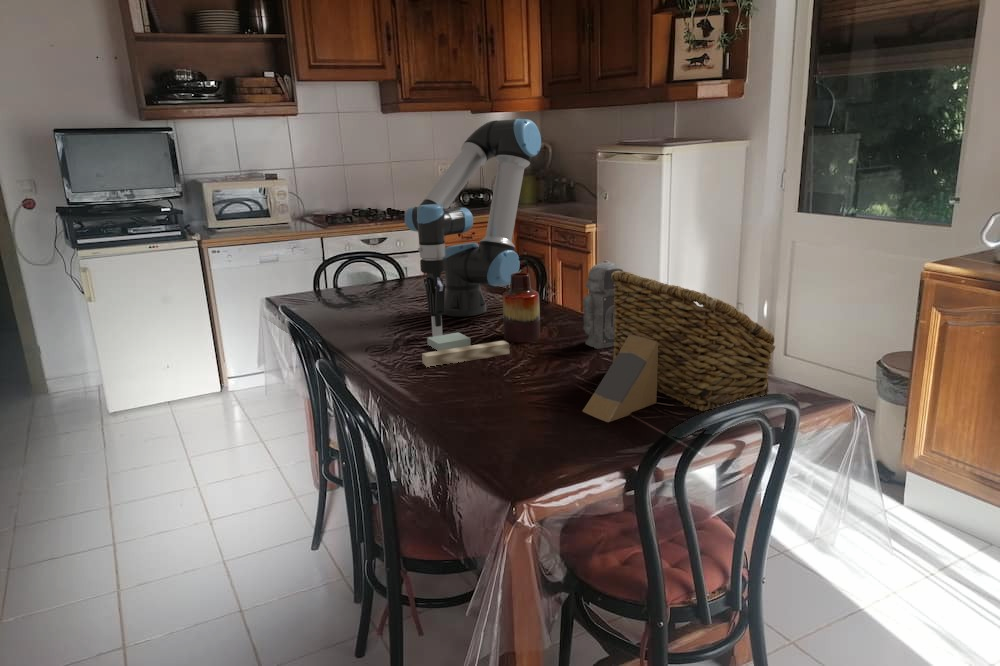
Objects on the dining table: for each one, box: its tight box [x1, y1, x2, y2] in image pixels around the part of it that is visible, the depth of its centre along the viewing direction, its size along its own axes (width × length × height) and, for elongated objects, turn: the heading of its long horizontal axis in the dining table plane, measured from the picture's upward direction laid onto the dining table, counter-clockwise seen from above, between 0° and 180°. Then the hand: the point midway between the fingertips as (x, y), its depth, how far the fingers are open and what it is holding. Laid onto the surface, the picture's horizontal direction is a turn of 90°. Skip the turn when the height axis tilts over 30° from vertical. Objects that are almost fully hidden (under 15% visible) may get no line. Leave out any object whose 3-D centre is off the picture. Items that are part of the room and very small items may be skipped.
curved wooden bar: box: [421, 340, 511, 368], centre depth 194 cm, size 24×4×4 cm, turn 114°
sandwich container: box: [582, 334, 658, 423], centre depth 155 cm, size 9×15×15 cm, turn 127°
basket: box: [611, 270, 776, 412], centre depth 168 cm, size 36×26×27 cm
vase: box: [502, 272, 541, 344], centre depth 210 cm, size 11×11×20 cm
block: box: [426, 332, 472, 351], centre depth 206 cm, size 10×8×4 cm
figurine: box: [582, 259, 624, 350], centre depth 201 cm, size 10×14×25 cm
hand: (437, 335), depth 215 cm, fingers closed
